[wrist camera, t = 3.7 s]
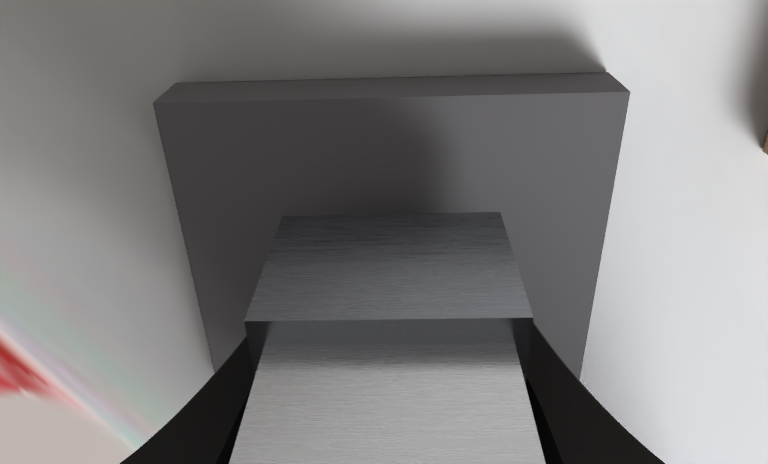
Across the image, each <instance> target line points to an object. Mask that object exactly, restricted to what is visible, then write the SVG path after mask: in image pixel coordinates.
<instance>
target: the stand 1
mask: <svg viewBox="0 0 768 464" xmlns="http://www.w3.org/2000/svg"><path fill="white" fill-rule="evenodd" d="M629 96H630V91H629V90H628V89H626V88H625V87H624V86H623V85H622V84H621V83H620V82H619V81H617V80H616V79H615V78H614V77H613V76H612V75H611V74H609V73H608V72H604V73H563V74H523V75H483V76H442V77H402V78H362V79H321V80H281V81H241V82H200V83H175V84H174V85H173V86H172V87H171V88H170V89H169V90H167V91H166V92H165V93H164V94H163V95H162V96H160V97H159V98H158V99H157V100H156V101H155V102H154V103H153V105H154V110H155V114H156V119H157V123H158V127H159V132H160V136H161V140H162V145H163V149H164V153H165V158H166V162H167V167H168V171H169V175H170V180H171V184H172V188H173V193H174V197H175V201H176V206H177V210H178V214H179V219H180V223H181V228H182V232H183V236H184V241H185V245H186V249H187V254H188V258H189V262H190V267H191V271H192V275H193V280H194V284H195V289H196V293H197V297H198V302H199V306H200V310H201V315H202V319H203V323H204V328H205V332H206V336H207V341H208V345H209V350H210V354H211V358H212V363H213V367H214V371H215V373H216V372H217V370H218V369H219V368H220V367H221V366H222V365H223V363H224V362H225V361H226V360H227V359H228V358H229V356H230V355H231V354H232V353H233V351H234V350H235V349H236V348H237V347H238V345H239V344H240V343H241V342H242V340H243V339H244V338H245V337H246V335H247V334H246V329H245V323H244V320H245V317H246V315H247V312H248V309H249V306H250V303H251V301H252V298H253V295H254V292H255V290H256V287H257V284H258V281H259V279H260V276H261V273H262V270H263V268H264V265H265V262H266V259H267V257H268V254H269V251H270V248H271V246H272V243H273V240H274V237H275V234H276V232H277V229H278V226H279V223H280V221H281V218H282V216H312V215H365V214H418V213H472V212H500V213H501V216H502V219H503V222H504V225H505V229H506V232H507V235H508V238H509V241H510V244H511V248H512V251H513V254H514V257H515V260H516V263H517V267H518V270H519V273H520V276H521V279H522V282H523V286H524V289H525V292H526V295H527V298H528V301H529V305H530V308H531V311H532V314H533V317H534V318H533V322H534V323H535V325H536V326H537V328H538V329H539V330H540V332H541V333H542V335H543V336H544V337H545V339H546V340H547V341H548V343H549V344H550V345H551V347H552V348H553V349H554V350H555V352H556V353H557V354H558V356H559V357H560V358H561V359H562V361H563V362H564V363H565V364H566V366H567V367H568V368H569V369H570V370H571V371H572V373H573V374H574V375H575V376H576V377H577V378H578V380H579V379H580V373H581V367H582V362H583V356H584V350H585V345H586V339H587V333H588V328H589V322H590V316H591V311H592V305H593V299H594V294H595V288H596V282H597V277H598V271H599V265H600V260H601V254H602V248H603V243H604V237H605V231H606V226H607V220H608V215H609V209H610V203H611V198H612V192H613V186H614V181H615V175H616V169H617V164H618V158H619V152H620V147H621V141H622V135H623V130H624V124H625V118H626V113H627V107H628V101H629Z"/></svg>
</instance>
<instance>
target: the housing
mask: <svg viewBox="0 0 768 464" xmlns="http://www.w3.org/2000/svg"><path fill="white" fill-rule="evenodd" d="M533 318H534V317H533V314H532V311H531V308H530V305H529V301H528V298H527V295H526V292H525V289H524V286H523V282H522V279H521V276H520V273H519V270H518V267H517V263H516V260H515V257H514V254H513V251H512V248H511V244H510V241H509V238H508V235H507V232H506V229H505V225H504V222H503V219H502V216H501V213H500V212H472V213H418V214H365V215H312V216H282V218H281V221H280V223H279V226H278V229H277V232H276V234H275V237H274V240H273V243H272V246H271V248H270V251H269V254H268V257H267V259H266V262H265V265H264V268H263V270H262V273H261V276H260V279H259V281H258V284H257V287H256V290H255V292H254V295H253V298H252V301H251V303H250V306H249V309H248V312H247V315H246V317H245V320H244V323H245V329H246V334H247V339H248V345H249V350H250V356H251V361H252V366H253V372H254V377H255V378H254V381H253V385H252V388H251V391H250V395H249V398H248V401H247V405H246V408H245V411H244V415H243V418H242V422H241V425H240V428H239V432H238V435H237V438H236V442H235V445H234V448H233V452H232V455H231V458H230V462H229V464H546V463H545V459H544V455H543V451H542V447H541V443H540V440H539V436H538V432H537V428H536V424H535V420H534V416H533V412H532V408H531V404H530V400H529V397H528V393H527V389H526V380H527V371H528V362H529V354H530V345H531V336H532V327H533Z"/></svg>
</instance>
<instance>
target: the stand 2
mask: <svg viewBox="0 0 768 464" xmlns="http://www.w3.org/2000/svg"><path fill="white" fill-rule="evenodd" d="M762 151H764V152H765V153H766V154H768V134H767V137H766V140H765V144H764V147H763V150H762Z"/></svg>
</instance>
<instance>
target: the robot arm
mask: <svg viewBox="0 0 768 464" xmlns="http://www.w3.org/2000/svg"><path fill="white" fill-rule="evenodd" d="M254 378H255V377H254V372H253V366H252V361H251V356H250V350H249V345H248V339H247V335H246V337H245V338H244V339H243V340H242V342H241V343H240V344H239V345H238V347H237V348H236V349H235V350H234V351H233V353H232V354H231V355H230V356H229V358H228V359H227V360H226V361H225V362H224V363H223V365H222V366H221V367H220V368H219V369H218V370H217V372H216V373H215V374H214V375H213V376H212V377H211V378H210V380H209V381H208V382H207V383H206V384H205V385H204V386H203V387H202V388H201V390H200V391H199V392H198V393H197V394H196V395H195V396H194V397H193V398H192V399H191V400H190V401H189V402H188V403H187V404H186V405H185V406H184V407H183V408H182V409H181V410H180V411H179V412H178V413H177V414H176V415H175V416H174V417H173V418H172V419H171V420H170V421H169V422H168V423H167V424H166V425H165V426H164V427H163V428H162V429H161V430H159V431H158V432H157V433H156V434H155V435H154V436H153V437H152V438H150V439H149V440H148V441H147V442H146V443H145V444H144V445H143V446H141V447H140V448H139V449H138V450H137V451H135V452H134V453H133V454H132V455H130V456H129V457H128V458H126V459H125V460H124V461H122V462H121V463H120V464H229V462H230V458H231V455H232V452H233V448H234V445H235V442H236V438H237V435H238V432H239V428H240V425H241V422H242V418H243V415H244V411H245V408H246V405H247V401H248V398H249V395H250V391H251V388H252V385H253V381H254ZM526 389H527V393H528V397H529V400H530V404H531V408H532V412H533V416H534V420H535V424H536V428H537V432H538V436H539V440H540V443H541V447H542V451H543V455H544V459H545V463H546V464H665V463H664V462H663V461H661V460H660V459H659V458H658V457H656V456H655V455H654V454H653V453H652V452H650V451H649V450H648V449H647V448H646V447H645V446H643V445H642V444H641V443H640V442H639V441H638V440H637V439H636V438H635V437H633V436H632V435H631V434H630V433H629V432H628V431H627V430H626V429H625V428H624V427H623V426H622V425H621V424H620V423H619V422H618V421H617V420H616V419H615V418H614V417H613V416H612V415H611V414H610V413H609V412H608V411H607V410H606V409H605V408H604V407H603V406H602V405H601V404H600V403H599V402H598V401H597V400H596V399H595V398H594V397H593V396H592V394H591V393H590V392H589V391H588V390H587V389H586V388H585V387H584V385H583V384H582V383H581V382H580V381H579V380H578V378H577V377H576V376H575V375H574V374H573V373H572V371H571V370H570V369H569V368H568V367H567V366H566V364H565V363H564V362H563V361H562V359H561V358H560V357H559V356H558V354H557V353H556V352H555V350H554V349H553V348H552V347H551V345H550V344H549V343H548V341H547V340H546V339H545V337H544V336H543V335H542V333H541V332H540V330H539V329H538V328H537V326H536V325H535V323H534V322H533V327H532V336H531V345H530V354H529V362H528V371H527V380H526Z"/></svg>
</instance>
